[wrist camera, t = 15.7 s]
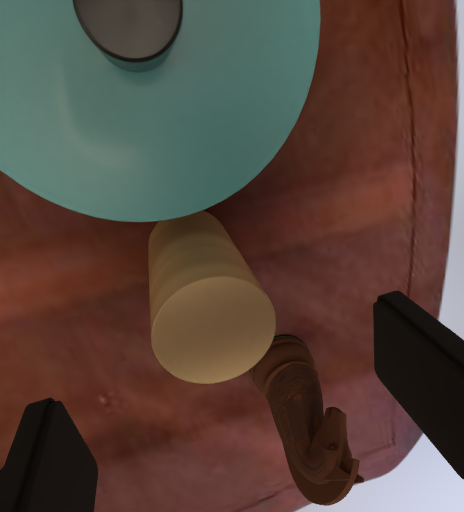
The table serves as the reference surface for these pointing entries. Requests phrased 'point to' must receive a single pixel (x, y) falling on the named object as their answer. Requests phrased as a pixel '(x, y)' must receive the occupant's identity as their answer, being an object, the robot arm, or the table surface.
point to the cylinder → (205, 302)
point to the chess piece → (306, 422)
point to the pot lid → (149, 99)
